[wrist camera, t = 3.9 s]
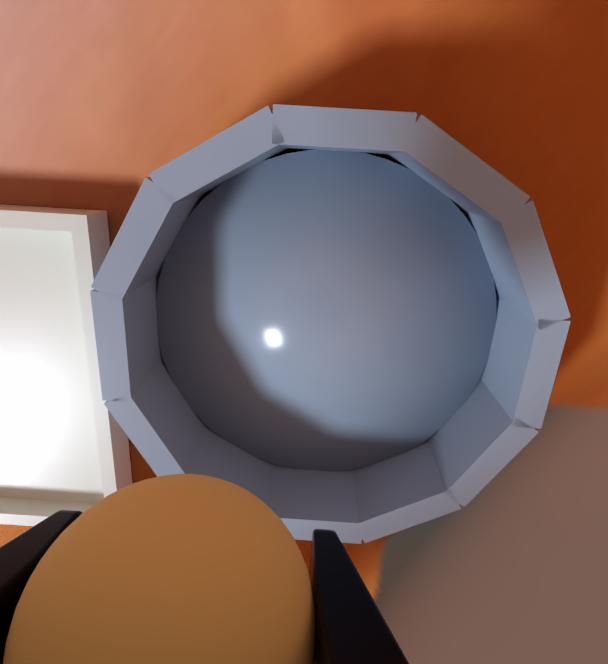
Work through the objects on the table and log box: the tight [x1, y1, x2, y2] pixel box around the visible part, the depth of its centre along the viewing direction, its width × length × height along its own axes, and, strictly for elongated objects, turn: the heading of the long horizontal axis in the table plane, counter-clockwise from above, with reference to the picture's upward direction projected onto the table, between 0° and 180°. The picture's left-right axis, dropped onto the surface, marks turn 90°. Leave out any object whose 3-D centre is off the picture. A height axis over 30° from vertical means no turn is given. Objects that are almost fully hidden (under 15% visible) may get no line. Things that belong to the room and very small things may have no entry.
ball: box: [3, 474, 315, 664], centre depth 7 cm, size 4×4×4 cm
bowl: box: [90, 104, 571, 544], centre depth 17 cm, size 15×15×4 cm
